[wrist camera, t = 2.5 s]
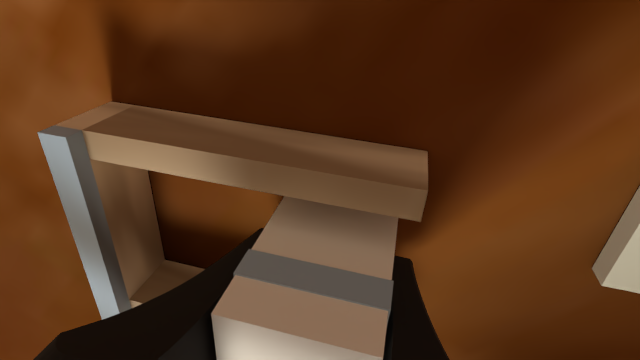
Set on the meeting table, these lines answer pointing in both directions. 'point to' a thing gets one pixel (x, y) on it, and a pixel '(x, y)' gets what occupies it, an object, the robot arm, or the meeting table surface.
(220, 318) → the block
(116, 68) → the meeting table surface
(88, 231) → the shelf bay
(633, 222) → the stand tile
